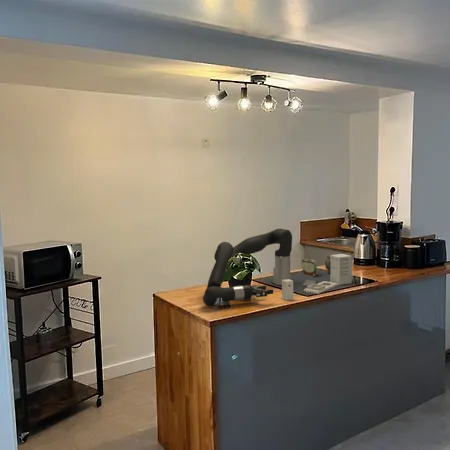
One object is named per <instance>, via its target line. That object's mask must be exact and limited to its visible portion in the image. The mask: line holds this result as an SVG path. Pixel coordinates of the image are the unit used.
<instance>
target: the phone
mask: <svg viewBox="0 0 450 450" xmlns="http://www.w3.org/2000/svg"><path fill="white" fill-rule="evenodd" d="M311 284H318V280H312V279H311V280H310V279H305V280H304V282H303V283H302V284H301V287H302V288H307V286H309V285H311Z"/></svg>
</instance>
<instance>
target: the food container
mask: <svg viewBox="0 0 450 450" xmlns="http://www.w3.org/2000/svg"><path fill="white" fill-rule="evenodd" d="M301 264H302V275H304V276H308V277H311V278H315V277H316V276H317V270H318V269H317V266H318V265H319V263H318V260H317V259H311V258H302V259H301Z"/></svg>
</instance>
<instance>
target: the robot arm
mask: <svg viewBox="0 0 450 450" xmlns="http://www.w3.org/2000/svg"><path fill="white" fill-rule="evenodd" d="M276 244H278V245H279V246H278V247H279V248H278V249H275V251H274V267H273V268H272V269H273V272H272V273H273V274H272V275H273V277H272V278H273V279H272V280H273V284H275V285H277V286H282V280H286V279H290V280H291V252H292V247H293V234H292V232H291V230H289V229H285V228H276V229H273V230H271V231H269V232H266V233H264V234H259V235H255V236H250V237H248V238H245V239H243V240H242V241H241V242H239V243H238V244H236V245H235V246H233V245H232V244H231V243H230V242H227V241H222V242H221V243H219V244H218V246H217V248H216V250H215V252H214V260H215V263H214V265H213V268H212V270H211V272H210V275H209V277H208V282H207V287H206V289H205V290H204V294H203V296H202V301H203V304H204V305H206V306H208V307H212V306H214V305H216V302H217V301H218V299H221V298H222V299H221V300H222V302H232V301H233V302H234V301H238V302H239V301H245V300H251V299H252V297H253V296H254V297H256V298H262V297H268V295H273V294H274V289H267V286H266V285H256V284H255V285H249V284H244V285H243V284H242V285H241V284H240V285H235V286H228V287H224V286H222V284H223V281H224V277H225V273H226V269H227V265H228V263H229V262H228V260H229V259H230V258H231V257H232V256H234V255H235V254H237V253H239V252H240V253H244V254H249V255H252V254H256V253H258V252H261V251H263V250H264V249H265V248H266V247H268V246H270V245H276Z"/></svg>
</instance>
